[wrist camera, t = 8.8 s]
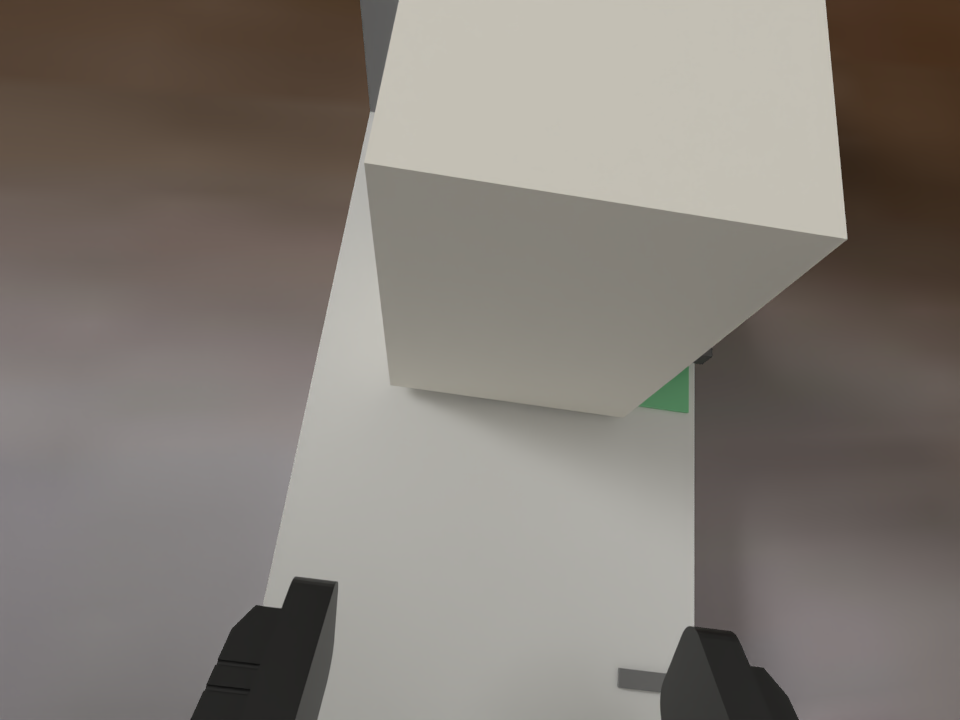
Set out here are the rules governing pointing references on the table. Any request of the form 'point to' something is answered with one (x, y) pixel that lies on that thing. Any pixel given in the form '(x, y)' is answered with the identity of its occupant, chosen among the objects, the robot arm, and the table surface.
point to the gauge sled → (594, 188)
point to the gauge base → (481, 525)
